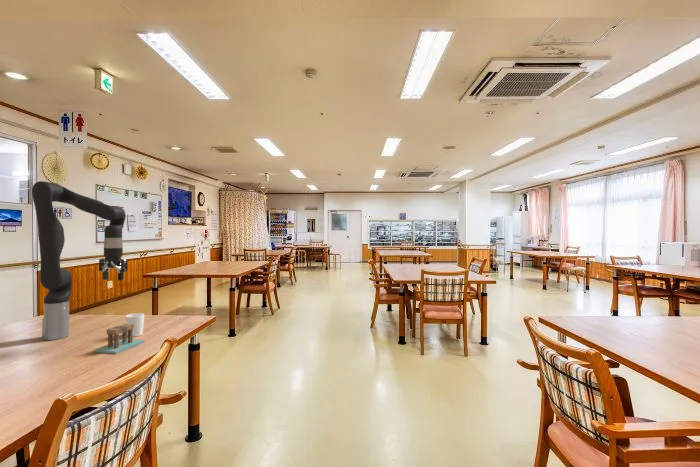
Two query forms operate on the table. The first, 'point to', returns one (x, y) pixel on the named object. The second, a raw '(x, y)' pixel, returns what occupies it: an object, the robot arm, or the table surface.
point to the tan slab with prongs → (116, 332)
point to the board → (122, 347)
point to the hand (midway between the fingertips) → (113, 280)
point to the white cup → (136, 323)
